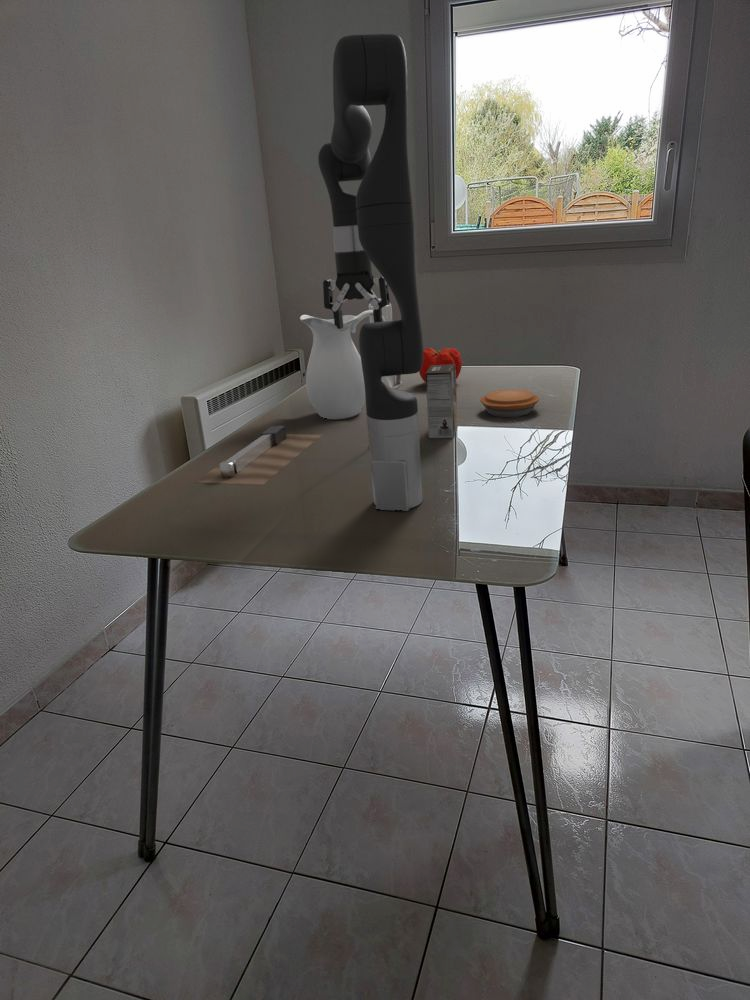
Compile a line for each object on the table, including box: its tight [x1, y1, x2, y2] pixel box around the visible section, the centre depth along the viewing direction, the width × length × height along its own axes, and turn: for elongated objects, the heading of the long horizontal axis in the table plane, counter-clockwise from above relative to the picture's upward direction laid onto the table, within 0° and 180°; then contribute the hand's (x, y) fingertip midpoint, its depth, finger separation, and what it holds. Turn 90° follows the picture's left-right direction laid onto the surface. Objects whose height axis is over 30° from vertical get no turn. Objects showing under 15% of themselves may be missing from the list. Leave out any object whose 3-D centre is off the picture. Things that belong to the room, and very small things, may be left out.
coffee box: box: [425, 364, 459, 439], centre depth 162 cm, size 9×6×16 cm
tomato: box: [418, 347, 463, 384], centre depth 211 cm, size 13×14×12 cm
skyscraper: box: [368, 298, 403, 390], centre depth 210 cm, size 8×8×28 cm
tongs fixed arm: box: [219, 425, 279, 479], centre depth 153 cm, size 28×3×3 cm, turn 163°
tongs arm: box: [231, 425, 287, 473], centre depth 154 cm, size 25×2×3 cm, turn 164°
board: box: [194, 433, 323, 486], centre depth 153 cm, size 34×16×2 cm, turn 163°
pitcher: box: [299, 309, 385, 420], centre depth 184 cm, size 24×17×28 cm
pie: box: [479, 389, 540, 418], centre depth 177 cm, size 15×16×5 cm
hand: (358, 327), depth 146 cm, fingers open, 8 cm apart
